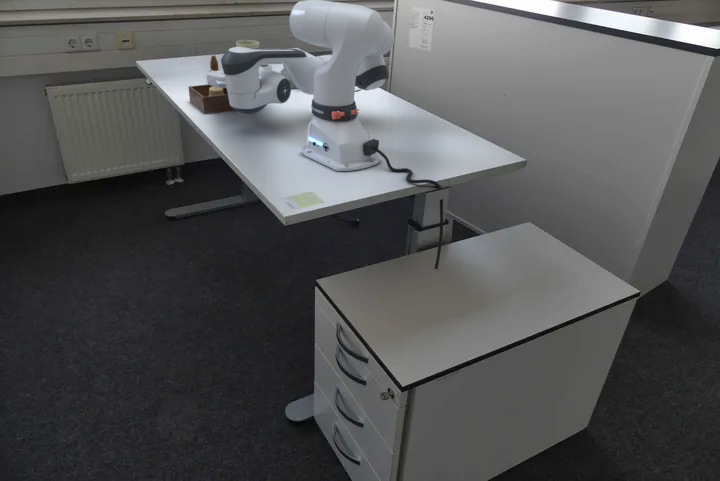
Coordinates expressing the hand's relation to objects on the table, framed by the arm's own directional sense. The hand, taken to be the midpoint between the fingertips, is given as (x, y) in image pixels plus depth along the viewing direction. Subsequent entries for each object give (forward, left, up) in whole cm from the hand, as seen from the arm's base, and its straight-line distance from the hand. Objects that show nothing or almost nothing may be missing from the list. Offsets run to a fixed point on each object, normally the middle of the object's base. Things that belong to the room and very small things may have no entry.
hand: (223, 70), depth 180 cm
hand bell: (+4, +1, -12) cm, 13 cm away
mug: (+38, -25, -13) cm, 47 cm away
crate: (+4, +1, -13) cm, 13 cm away
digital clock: (+16, -35, -13) cm, 40 cm away
